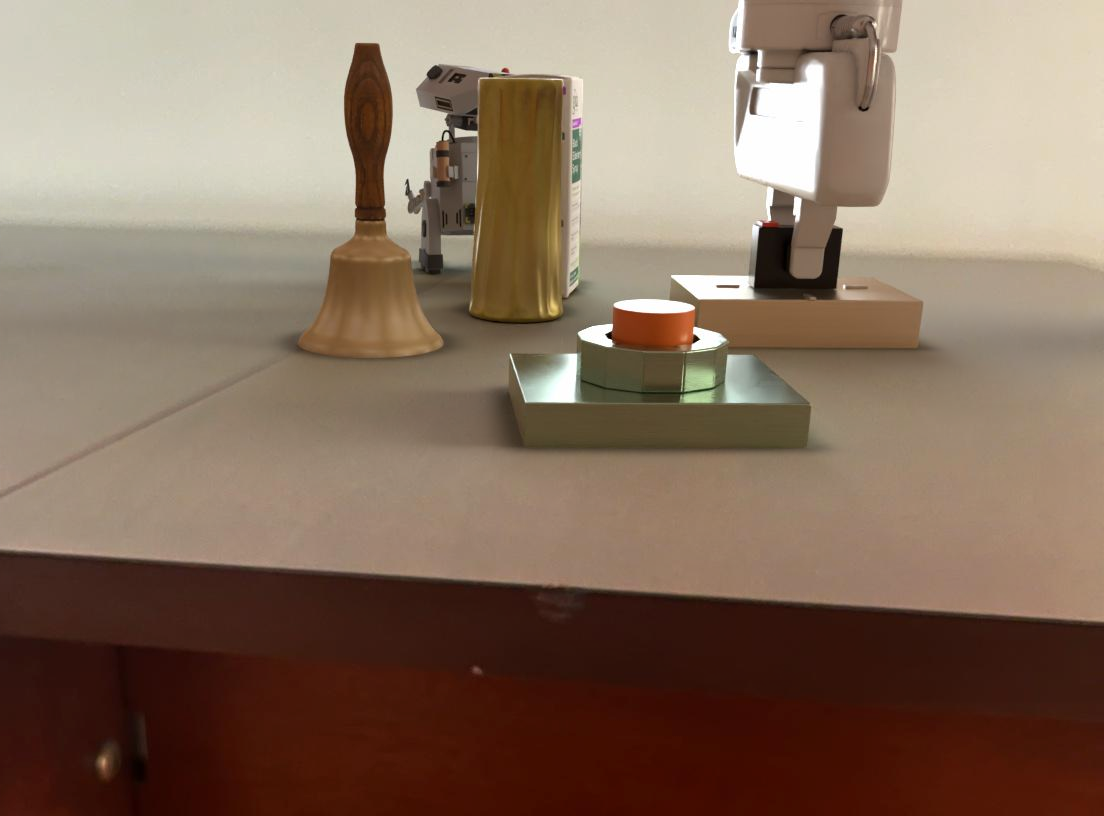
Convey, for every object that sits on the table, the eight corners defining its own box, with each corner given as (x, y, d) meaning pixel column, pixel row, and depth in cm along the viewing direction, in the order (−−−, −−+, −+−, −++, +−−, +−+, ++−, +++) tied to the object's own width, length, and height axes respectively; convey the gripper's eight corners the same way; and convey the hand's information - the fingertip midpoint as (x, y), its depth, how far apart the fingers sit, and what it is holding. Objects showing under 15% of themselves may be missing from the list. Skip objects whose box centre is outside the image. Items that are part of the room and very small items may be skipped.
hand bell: (474, 349, 75) (477, 45, 69) (361, 370, 70) (354, 40, 64) (380, 328, 80) (375, 44, 74) (268, 346, 75) (253, 40, 69)
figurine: (510, 256, 112) (514, 65, 106) (544, 276, 102) (551, 66, 96) (404, 257, 110) (402, 63, 105) (428, 277, 100) (427, 63, 94)
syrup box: (569, 298, 92) (577, 74, 87) (486, 294, 93) (489, 73, 88) (579, 286, 97) (587, 74, 92) (500, 282, 98) (504, 72, 93)
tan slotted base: (867, 324, 85) (873, 274, 84) (917, 353, 76) (925, 298, 75) (667, 322, 84) (670, 272, 83) (695, 352, 76) (700, 296, 74)
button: (684, 338, 61) (687, 299, 60) (699, 354, 57) (702, 313, 57) (606, 337, 60) (608, 298, 60) (617, 353, 57) (619, 312, 56)
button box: (751, 399, 65) (758, 317, 64) (806, 454, 56) (816, 360, 54) (508, 398, 64) (510, 315, 63) (523, 454, 55) (526, 359, 54)
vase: (494, 303, 90) (498, 77, 84) (578, 312, 87) (587, 79, 82) (452, 317, 84) (453, 77, 79) (539, 326, 82) (546, 79, 77)
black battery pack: (828, 284, 80) (835, 221, 79) (836, 289, 79) (843, 224, 77) (747, 284, 80) (753, 220, 78) (753, 288, 78) (759, 223, 77)
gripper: (942, 13, 64) (905, 301, 69) (822, 24, 83) (800, 250, 88) (815, 11, 64) (786, 300, 69) (723, 22, 83) (707, 249, 88)
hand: (793, 272), depth 79 cm, fingers open, 3 cm apart
